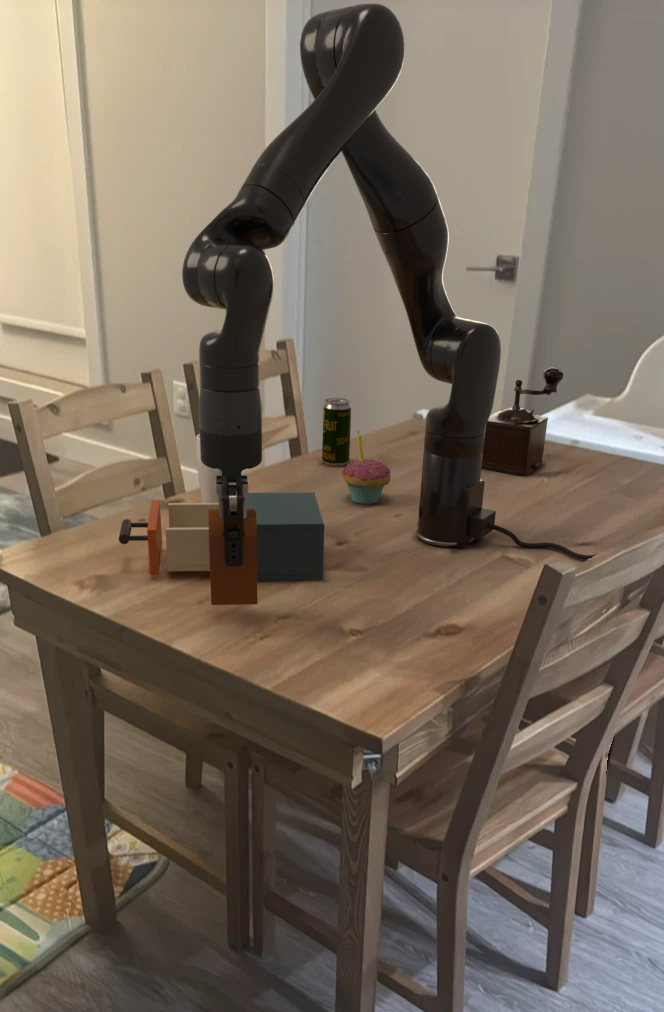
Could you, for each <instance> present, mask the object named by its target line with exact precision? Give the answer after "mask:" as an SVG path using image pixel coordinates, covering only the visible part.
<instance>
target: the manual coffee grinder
mask: <svg viewBox="0 0 664 1012" xmlns="http://www.w3.org/2000/svg"><path fill="white" fill-rule="evenodd" d="M542 376H543V380H544V382H545V385H544V387H543V388H542V390H533V389H522V386H523V381H522V379H517V380H515V387H514V392H515V394H514V395H515V396H514V404H513V406H512V407H508V408H506V409H503V410H499V411H496V412H494V413H492V414H490V417H489V419H488V421H487V424H486V432H485V440H484V449H483V458H482V468H481V469H483V470H487V471H488V470H489V471H494V472H498V473H499V472H500V473H504V474H511V475H515V476H522V477H526V476H527V475H529V474H531V473H532V472H534V471H536V470H538V468H539V467H540V466H541V465H542V463H543V456H544V450H545V443H546V435H547V427H548V421H549V417H548V416H543V415H537V414H534V411H535V409H532V410H531V411H530V410H528V409H527V408H526V407H521V406H520V400H521V395H530V396H541V395H546V396H550V395H551V394H553V393H554V394H556V393H557V392H558V390H557V389H558V388H557V387H558V385H559V384H560V382H561V381H562V380H563V378H564V372H563V371H562V370H561V369H560V368H557V367H552V366H551V367H547V368H546V369H545V370H544V371H543V375H542Z"/></svg>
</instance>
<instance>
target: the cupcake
mask: <svg viewBox="0 0 664 1012" xmlns="http://www.w3.org/2000/svg"><path fill="white" fill-rule="evenodd" d="M356 437H357V447H358V448H357V449H358V457H359V459H355V460H352V461H351V462H348V464H347V465H345V466H343V469H342V470H341V472H342V473H341V475H342V477H343V480H344V482H345V483H346V484H347V487H348V489H349V490H348V491H349V493H350V496H351V500H352V501H353V502H355V503H357V504H361V505H372V504H376V503H378V502H379V500H380V497H381V495H382V492H383V490H384V487H385V486H387V485H389V484H390V481H391V478H392V474H391V473H392V472H391V470H390V468H389V467H388V465H386V464H384V463H383V462H382V461H379V460H376V459H372V458H369V459H367V458H364V452H363V441H362V435H361V434H360V431H359V429H357V435H356Z"/></svg>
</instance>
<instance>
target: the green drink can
mask: <svg viewBox="0 0 664 1012" xmlns="http://www.w3.org/2000/svg"><path fill="white" fill-rule="evenodd" d="M351 427H352V405H351V400H350V399H348V398H344V397H329V398H326V399H324V404H323V406H322V441H321V442H322V444H321V447H322V449H321V460H322V462H323V464H324V465H325V466H328V467H334V468H341V467H346V466H347V464H348V465H349V463H350V452H351Z"/></svg>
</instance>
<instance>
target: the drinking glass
mask: <svg viewBox="0 0 664 1012" xmlns="http://www.w3.org/2000/svg"><path fill="white" fill-rule="evenodd" d="M195 438H196V439H195V440H196V441H195V451H196V452H195V453H196V467H197V475H198V483H199V492H200V499H201V503H219V497H218V495H217V493H216V475H222V471H221V470H220V469H217V468H216V469H213V468H210V467H207V466H206V465H204V464H203V463H202V461H201V452H200V433H198V434H197V435H196V437H195Z"/></svg>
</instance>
